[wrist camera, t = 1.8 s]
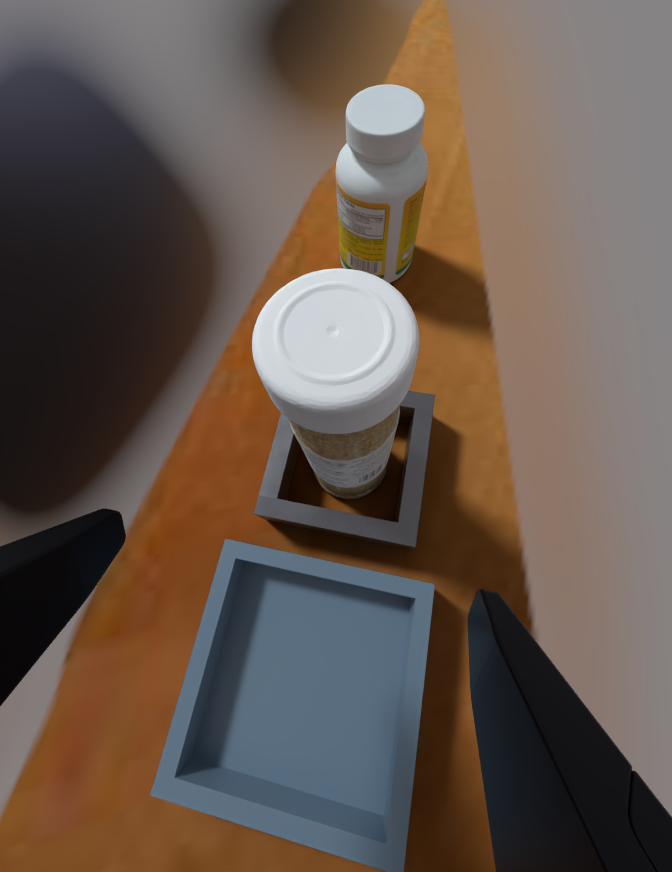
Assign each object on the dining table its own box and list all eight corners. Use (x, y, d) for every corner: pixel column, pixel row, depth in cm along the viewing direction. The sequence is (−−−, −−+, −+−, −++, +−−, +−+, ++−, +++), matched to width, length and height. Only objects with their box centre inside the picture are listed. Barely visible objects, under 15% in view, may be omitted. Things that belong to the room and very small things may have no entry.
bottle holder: (409, 549, 20) (415, 547, 18) (265, 519, 21) (253, 513, 19) (427, 412, 23) (435, 394, 21) (298, 392, 24) (292, 373, 22)
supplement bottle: (353, 296, 26) (349, 156, 17) (331, 243, 28) (318, 91, 19) (423, 275, 27) (455, 126, 18) (397, 224, 28) (414, 65, 19)
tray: (397, 831, 16) (403, 876, 14) (178, 765, 18) (150, 795, 15) (426, 582, 20) (434, 584, 17) (240, 541, 21) (225, 538, 19)
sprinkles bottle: (361, 416, 23) (362, 236, 10) (402, 476, 22) (459, 351, 9) (298, 452, 23) (219, 308, 10) (336, 516, 21) (298, 443, 8)
